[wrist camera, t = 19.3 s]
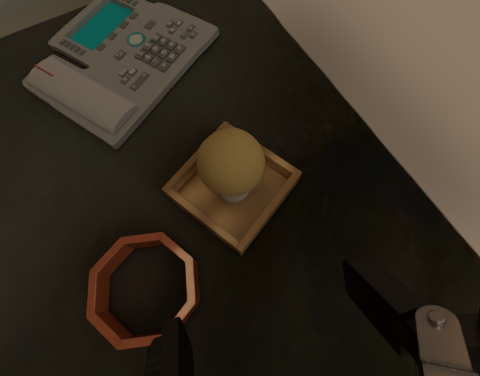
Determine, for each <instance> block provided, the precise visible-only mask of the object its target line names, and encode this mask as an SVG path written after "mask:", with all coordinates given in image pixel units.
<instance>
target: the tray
mask: <svg viewBox="0 0 480 376" xmlns="http://www.w3.org/2000/svg"><path fill="white" fill-rule="evenodd" d="M227 128H235V127H233V126H232V125H230V124H229V123H227V122H226V121H224V123H223V124H222V125H221V126H220V127H219V128H218V129H217V130H216V131H215V132H217V131H220V130H222V129H227ZM215 132H214V133H215ZM260 146H261V148H262V150H263V153H264V156H265V170H264V173H263V176H262V178H261V180H260V182H259V183H258V185H257V186H256V187H255V188H254V189H252V190H251V191H250V192H249V193H248V195H247V196H246V197H245V198H244V199H243V200H242V201H239V202H235V203H232V202H227V201H225V200H224V199H222V198H221V197H220V195H217V194H215V193H214V192H212V191H211V190H209V189H208V188H207V187H206V186H205V185H204V183H203V182H202V180H201V178H200V176H199V174H198V171H197V164H196V161H197V154H198V151H199V149H198V150H197V151H196V152H195V154H194V155H193V156H192V157H191V158H190V159H189V160H188V161H187V162H186V163H185V164H184V165H183V166H182V167H181V169H180V170H179V171H178V172H177V173H176V174H175V175H174V176H173V177H172V178H171V179H170V180H169V181H168V182H167V184H166V185H165V186H164V187H163V188H162V189H161V190H162V191H163V192H164V193H165V195H166V196H167V197H168V198H169V199H170V200H171V201H173V202H174V203H175V204H176V205H178V206H179V207H180V208H181V209H183V210H184V211H185V212H186V213H188V214H189V215H190V216H191V217H193V218H194V219H195V220H197V221H198V222H199V223H200V224H202V225H203V226H204V227H205V228H207V229H208V230H209V231H210V232H212V233H213V234H214V235H215V236H217V237H218V238H219V239H220V240H222V241H223V242H224V243H226V244H227V245H228V246H229V247H231V248H232V249H233V250H234V251H236V252H237V253H238V254H239V255H241V256H242V254H243V253H244V252H245V251H246V249H247V248H248V247H249V245H250V244H251V243H252V241H253V240H254V239H255V237H256V236H257V235H258V233H259V232H260V231H261V229H262V228H263V227H264V226H265V224H266V223H267V222H268V220H269V219H270V218H271V216H272V215H273V214H274V212H275V211H276V210H277V208H278V207H279V206H280V205H281V203H282V202H283V201H284V199H285V198H286V197H287V195H288V194H289V193H290V191H291V190H292V189H293V187H294V186H295V185H296V184H297V182H298V180H299V178H300V176H301V174H302V172H301V171H300V170H298V169H296V168H295V167H293V166H292V165H290V164H289V163H287V162H286V161H284V160H283V159H281V158H280V157H278V156H277V155H275V154H274V153H272V152H271V151H269V150H268V149H266V148H265V147H263V146H262V145H260Z"/></svg>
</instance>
